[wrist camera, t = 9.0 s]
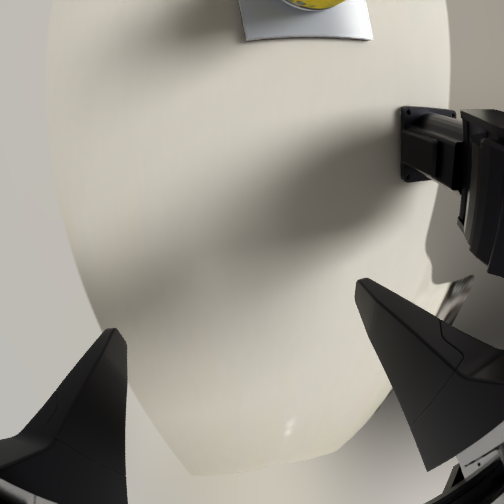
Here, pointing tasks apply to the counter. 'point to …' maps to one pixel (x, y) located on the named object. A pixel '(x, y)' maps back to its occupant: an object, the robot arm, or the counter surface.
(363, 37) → the slate coaster
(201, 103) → the counter surface
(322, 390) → the counter surface
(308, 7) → the supplement bottle
